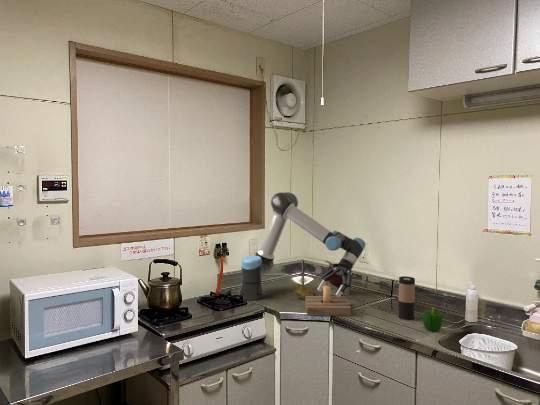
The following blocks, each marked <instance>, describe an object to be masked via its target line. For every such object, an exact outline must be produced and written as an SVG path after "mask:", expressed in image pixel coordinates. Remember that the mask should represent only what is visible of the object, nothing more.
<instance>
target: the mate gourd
mask: <svg viewBox="0 0 540 405" xmlns="http://www.w3.org/2000/svg"><path fill="white" fill-rule="evenodd" d="M325 263H328V264H329V265H328V269H327V272H328V271H329V270H330V269H331V268H332V267H333V266H334V267H335V268H337V267H338V263H332V262H330V261H328V260H325ZM335 274H336V273H335ZM346 277H348V274H347V275H346ZM346 279H347V278H346ZM328 282H329V283H330V285H331V286H333V287H335V288H336V289H331V296H336V293H337V291H338V290H339V288H340V286H341V285H343V279H342V277H339V276H337V277H334V278H332V279H330V280H328ZM347 294H349V295H350V291H349V290H345V291H344V292H342V294H341V295H345V296H348V295H347Z"/></svg>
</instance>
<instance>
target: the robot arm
mask: <svg viewBox="0 0 540 405" xmlns="http://www.w3.org/2000/svg"><path fill="white" fill-rule="evenodd" d="M270 205H271V208H272V212H273V216H272V218H271V221H270V222H269V226H268V229H267V231H266V233H265V235H264V239H263V241H262V242H261V246H260V248H259V249H257V250H256V251H255V254H254V255H248V256H245V257H243V258H242V260H241V285H240V288H239V291H238V296H239V295H242V296H243V299H242V300H244V301H257V300H261V299H264V298H265V291H264V286H263V285H262V276H264V275H266V274H269V273H270V271H272V270H273V268H274V265H275V264H274V259H275V255H274V253H275V252H276V251H275V250H276V248H277V246H278V243H279V241H280V239H281V238H280V237H281V235H282V233H283V231H284V228H285V225H286V223H287V220H288V219H289V220H290V221H292V222H293V223H294V224H295V225H297V226H298V227H300V228H301V229H303V230H304V231H305V232H307V233H309V235H311V236H313V237H314V238H315V239H317V240H318V241H319V242H321V243H323V244H324V245H325V246H326V248H327V249H328V250H329V251H337V250H339V249H342V250H343V251H345V253H344V254H343V255H342V257H341V259H340V261H339V262H337V264H338V267H337V268H335V267H334V266H333V267H332V268H331V269H330V270H329V271H328V270H327V271H326V272H325V273H324V274H322V275H321V276H320V279H321V282H320V283H319V286H318V287H317V288H316V289H317V291H318V292H319V293H321V292H323V286H327V282H329V280H330V279H332V278H334V277H337V276H339V277H342V279H343V285H341V286H340V288H339V290H338V291H337V293H336V295H335V296H337V297H338V298H339V297H340V296H341V294H342V292H344V291H346V289H347V288H351V287H352V280H353V275H354V272H353V270H352V269H353V267H354V265H355V264H356V263H357V261H358V260H359V258H360V256H361V255H362V253H363V252H364V249H365V248H366V242H365V240H363V239H362V238H360V237H354V238H350V237H349V236H347V235H345V234H343V233H341V232H340V231H338V230H333V231H331V230H329V229H327V228H326V227H325V226H324V225H322V224H320V222H318V221H317V220H315V219H314V218H312V217H310V216H309V215H307V213H305V212H303V211H302V210H301V209H299V208H298V205H299V200H298V197H297V196H296V194H294V193H293V192H289V191H285V192H277V193H275V194H274V195H273V196H272V197H271V200H270ZM335 273H336V274H335ZM347 274H348V277H346V275H347ZM346 278H347V279H346Z"/></svg>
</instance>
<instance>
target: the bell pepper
mask: <svg viewBox="0 0 540 405" xmlns="http://www.w3.org/2000/svg"><path fill="white" fill-rule="evenodd" d="M435 309H436V307H434V306H433V307H432V309H431V310H427V311H423V312H422V321H423V323H422V324H423V326H424V329H425V330H426V331H429V332H430V331H431V332H439V331H440V329H441V328H442V324H443V315H442V313H439V312H438V311H435Z"/></svg>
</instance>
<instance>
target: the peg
mask: <svg viewBox="0 0 540 405" xmlns="http://www.w3.org/2000/svg"><path fill="white" fill-rule="evenodd" d="M331 290H332V285H331V286H330V285H325V286H323V289H322V296H323V303H331V296H332V294H331Z"/></svg>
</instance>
